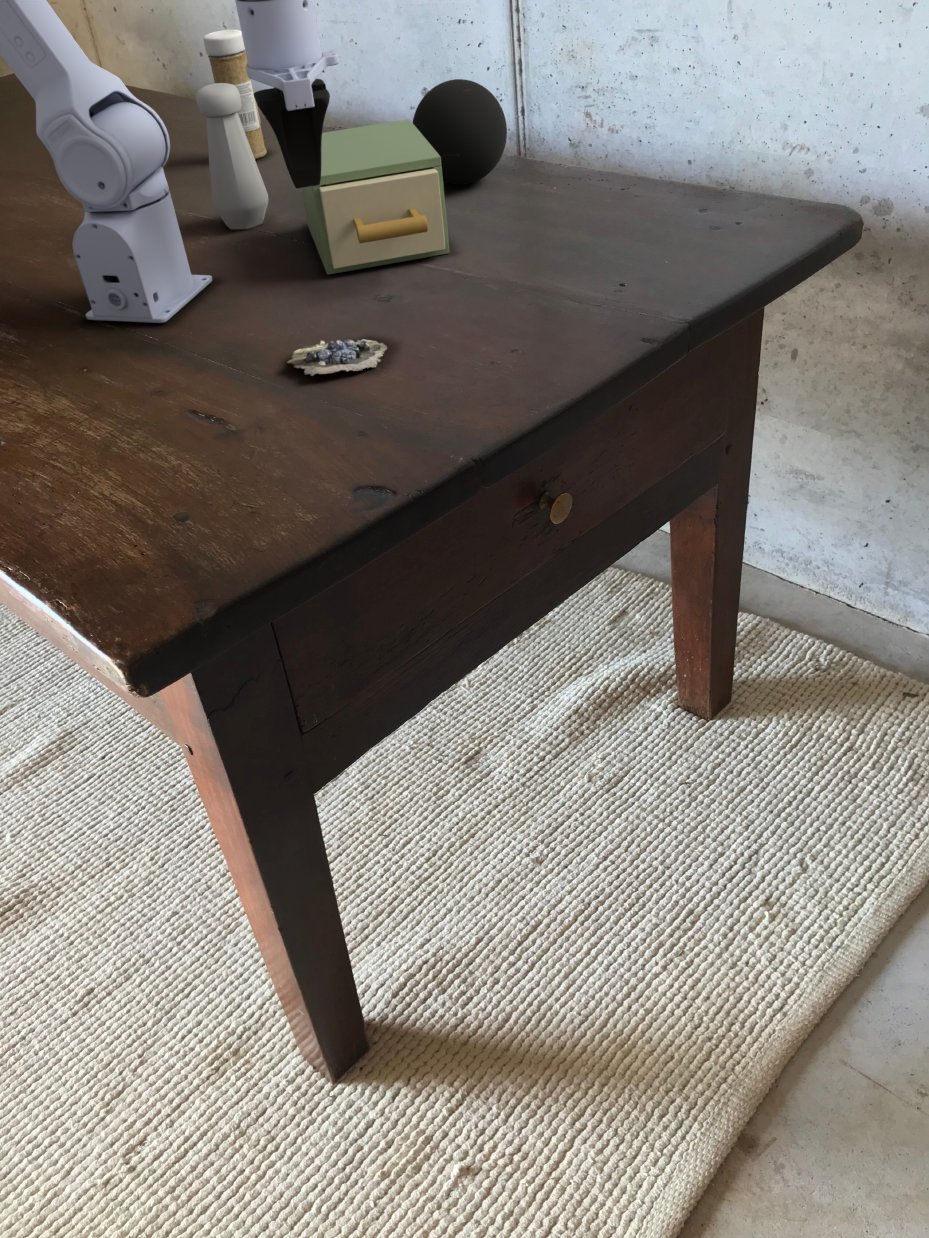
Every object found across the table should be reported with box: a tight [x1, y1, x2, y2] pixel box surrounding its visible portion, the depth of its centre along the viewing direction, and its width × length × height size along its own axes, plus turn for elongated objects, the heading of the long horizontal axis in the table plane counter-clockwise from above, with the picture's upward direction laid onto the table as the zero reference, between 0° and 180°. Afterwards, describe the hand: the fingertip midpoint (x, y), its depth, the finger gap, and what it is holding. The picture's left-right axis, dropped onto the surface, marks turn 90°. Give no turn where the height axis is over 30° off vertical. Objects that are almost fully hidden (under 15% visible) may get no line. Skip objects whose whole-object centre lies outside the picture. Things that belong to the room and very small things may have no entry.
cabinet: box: [300, 118, 450, 276], centre depth 97 cm, size 14×12×9 cm
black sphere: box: [412, 78, 508, 186], centre depth 108 cm, size 10×10×10 cm
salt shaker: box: [195, 83, 269, 230], centre depth 103 cm, size 6×6×13 cm
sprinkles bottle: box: [203, 29, 267, 160], centre depth 121 cm, size 5×5×14 cm
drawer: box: [319, 169, 445, 269], centre depth 94 cm, size 17×10×7 cm, turn 14°
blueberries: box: [286, 338, 388, 377], centre depth 79 cm, size 7×8×2 cm
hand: (307, 184), depth 84 cm, fingers closed
